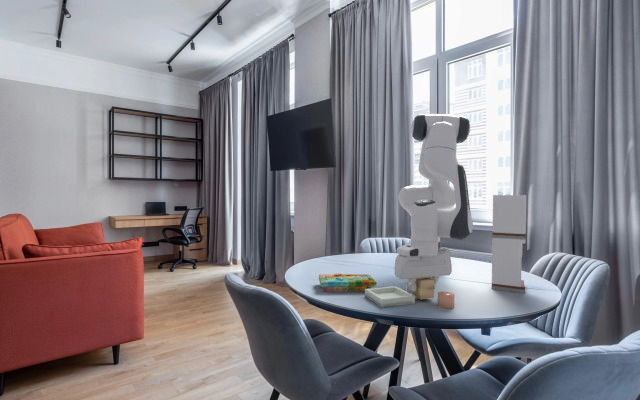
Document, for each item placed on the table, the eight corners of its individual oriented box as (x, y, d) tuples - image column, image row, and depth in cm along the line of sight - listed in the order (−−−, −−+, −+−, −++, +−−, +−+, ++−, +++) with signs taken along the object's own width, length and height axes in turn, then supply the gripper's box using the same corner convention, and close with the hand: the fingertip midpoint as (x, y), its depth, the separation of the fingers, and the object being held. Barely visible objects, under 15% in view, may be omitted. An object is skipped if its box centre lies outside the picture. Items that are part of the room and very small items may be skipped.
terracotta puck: (434, 304, 111) (434, 292, 111) (447, 303, 113) (447, 290, 113) (444, 309, 107) (444, 296, 107) (457, 307, 108) (458, 295, 108)
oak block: (412, 294, 118) (412, 277, 118) (424, 293, 119) (425, 276, 119) (420, 299, 113) (420, 281, 113) (433, 297, 115) (434, 279, 114)
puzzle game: (318, 272, 135) (369, 272, 137) (318, 284, 136) (369, 284, 137) (320, 280, 124) (376, 279, 125) (320, 293, 124) (376, 292, 125)
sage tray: (364, 296, 120) (365, 289, 120) (395, 293, 123) (395, 286, 123) (381, 307, 108) (381, 299, 108) (415, 303, 112) (415, 295, 112)
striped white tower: (524, 293, 124) (526, 195, 124) (491, 288, 130) (493, 195, 129) (523, 285, 134) (525, 195, 134) (493, 282, 139) (494, 194, 139)
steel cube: (406, 294, 123) (406, 282, 123) (414, 292, 125) (414, 281, 125) (415, 296, 120) (415, 285, 120) (423, 294, 122) (423, 283, 122)
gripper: (444, 245, 122) (443, 284, 122) (392, 248, 115) (391, 289, 116) (456, 248, 116) (455, 289, 116) (402, 252, 109) (401, 295, 110)
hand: (423, 289), depth 116 cm, fingers closed on oak block, 5 cm apart
